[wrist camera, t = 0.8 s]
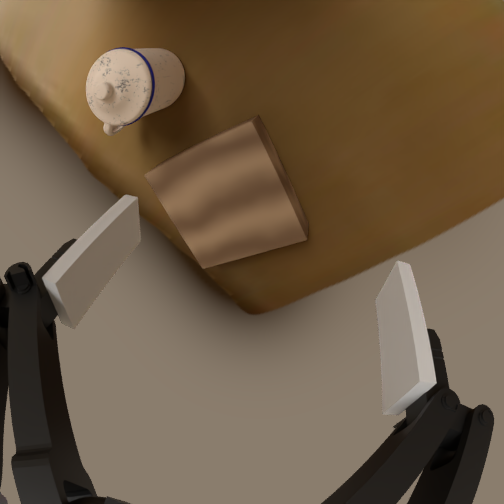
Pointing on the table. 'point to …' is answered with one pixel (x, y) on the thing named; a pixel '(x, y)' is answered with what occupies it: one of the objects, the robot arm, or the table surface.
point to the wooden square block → (230, 196)
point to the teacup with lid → (133, 85)
